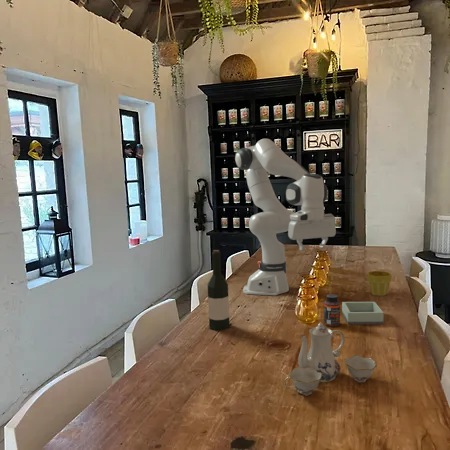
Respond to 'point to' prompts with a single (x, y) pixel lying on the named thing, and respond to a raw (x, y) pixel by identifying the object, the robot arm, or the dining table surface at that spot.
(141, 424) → the dining table surface
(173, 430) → the dining table surface
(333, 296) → the supplement bottle
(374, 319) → the grey-green square tray
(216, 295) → the wine bottle
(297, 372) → the chinaware
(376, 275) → the plant pot
